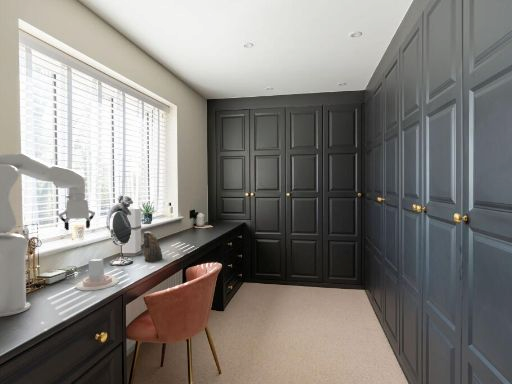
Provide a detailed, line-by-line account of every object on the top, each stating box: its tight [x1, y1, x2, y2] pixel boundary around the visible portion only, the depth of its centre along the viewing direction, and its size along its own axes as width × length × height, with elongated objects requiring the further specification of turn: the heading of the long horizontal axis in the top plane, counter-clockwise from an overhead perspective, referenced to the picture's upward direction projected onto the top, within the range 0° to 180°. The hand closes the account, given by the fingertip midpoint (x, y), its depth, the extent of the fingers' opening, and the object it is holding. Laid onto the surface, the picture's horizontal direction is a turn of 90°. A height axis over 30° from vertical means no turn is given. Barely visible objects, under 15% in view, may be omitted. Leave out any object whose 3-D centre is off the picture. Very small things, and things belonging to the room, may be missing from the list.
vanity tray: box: [74, 274, 120, 292], centre depth 157 cm, size 20×20×3 cm
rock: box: [142, 230, 164, 263], centre depth 209 cm, size 13×13×20 cm
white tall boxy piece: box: [122, 207, 142, 257], centre depth 227 cm, size 11×11×35 cm
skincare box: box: [87, 258, 105, 282], centre depth 156 cm, size 6×4×12 cm
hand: (77, 228), depth 161 cm, fingers open, 9 cm apart
